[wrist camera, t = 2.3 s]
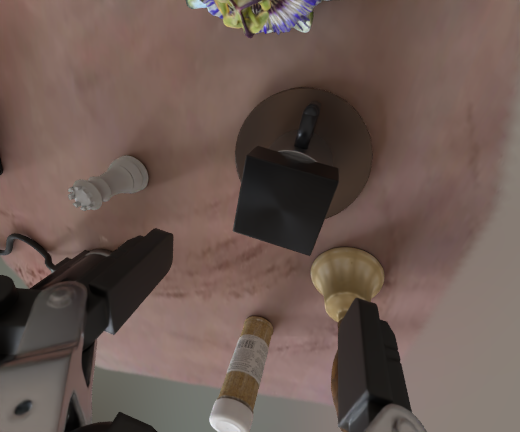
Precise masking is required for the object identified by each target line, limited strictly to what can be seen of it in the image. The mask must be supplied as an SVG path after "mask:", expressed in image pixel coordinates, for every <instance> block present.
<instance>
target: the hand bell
mask: <svg viewBox="0 0 520 432" xmlns="http://www.w3.org/2000/svg"><path fill="white" fill-rule="evenodd" d="M311 279H312V282H313V284H314V286H315V287H316V289H317V290H318V291H319V292H320V293H321V294H322V295H323V296H324V302H325V309H326V312H327V313H328V315H329V316H330V317H331V318H332V319H333V320H335V321H337V322H338V332H339V327H340V324H341V322H342V320H343V318H344V316H345V314H346V313H347V311H348V309H349V307H350V306H351V304H352V302H353V301H354V299H355V298H360V299H363V300H366V301H369V302H371V298H373V297H374V296H375V295H376V294H377V293H378V292H379V291H380V289H381V288H382V286H383V283H384V271H383V268H382V266H381V264H380V263H379V262H378V260H377V259H376V258H374V257H373V256H372V255H370V254H369V253H367V252H365V251H363V250H360V249H356V248H351V247H339V248H334V249H330V250H328V251H326V252H324V253H322V254H321V255H319V256H318V257H317V258H316V259H315V261H314V262H313V264H312V267H311ZM331 391H332V397H333V402H334V405H335V408H336V411H337V416H338V350H337V353H336V355H335V358H334V362H333V367H332V375H331ZM340 429H341V431H343V432H349V431H347V430H345V429H342V428H340Z"/></svg>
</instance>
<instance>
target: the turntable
mask: <svg viewBox="0 0 520 432" xmlns="http://www.w3.org/2000/svg"><path fill="white" fill-rule="evenodd" d="M312 101H318V102H319V103H320V104H321V110H320V113H319V116H318V120H317V123H316V126H315V130H314V133H315V134H317V135H319V136H320V137H321V138H322V139H323V140H324V141H325V142H326V143H327V144H328V146H329V148H330V150H331V153H332V158H333V167H336V168H339V183H338V186H337V189H336V191H335V194H334V196H333V199H332V201H331V204H330V207H329V209H328V212H327V214H326V217H325V219H326V218H329V217H331V216H334V215H336V214H338V213H339V212H341V211H342V210H344V209H345V208H347V207H348V206H349V205H350V204H351V203H352V202H353V201H354V200H355V199H356V198H357V197H358V195H359V194H360V193H361V191H362V190H363V188H364V186H365V184H366V182H367V180H368V177H369V174H370V171H371V166H372V156H373V154H372V143H371V139H370V135H369V132H368V130H367V127H366V125H365V123H364V122H363V120H362V118H361V116H360V115H359V114H358V113H357V111H356V110H355V109H354V108H353V107H352V106H351V105H350V104H349V103H348V102H347V101H345V100H344V99H342V98H341V97H339V96H337V95H335V94H333V93H331V92H329V91H325V90H322V89H317V88H309V87H301V88H293V89H289V90H285V91H282V92H279V93H277V94H275V95H272V96H270V97H269V98H267V99H266V100H264V101H263V102H261V103H260V104H259V105H258V106H257V107H256V108H255V109H254V110H253V111H252V112H251V113H250V114H249V116H248V117H247V119H246V120H245V122H244V124H243V125H242V127H241V130H240V132H239V135H238V138H237V143H236V151H235V160H236V168H237V172H238V176H239V179H240V181H241V182H242V176H243V171H244V165H245V159H246V155H247V154H248V153H249V152H251V151H252V150H253V149H254V148H255V147H256V146H260V147H264V148H268V149H269V147H270V146H271V145H272V144H273V143H274V142H275V141H276V140H277V139H278V138H279V137H280V136H282V135H283V134H285V133H287V132H290V131H294V130H298V129H299V125H300V121H301V117H302V114H303V111H304V109H305V108H306V107H307V106H308V105H309V104H310V102H312Z"/></svg>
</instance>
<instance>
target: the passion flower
mask: <svg viewBox="0 0 520 432" xmlns="http://www.w3.org/2000/svg"><path fill="white" fill-rule="evenodd" d="M322 1H323V0H186V3H187V6H188V7H189V8H191V9H196V8H207V9H208V12H209V13H211V14H212V15H213V16H218V17H219V18H221V19H223V22H224V24H225V25H226V26H227V27H231V28H241V27H242V28H243V30H244V34H245V35H246V36H247V37H248V38H252V37H253V35H254V34H255V33H256V34H258V33H261V32H265V34H266V33H271V32H277V34H278V35H279V34H280V32H281V31H282V32H283V33H284V32H289V31H290V30H291V28H292V27H293V28H295V29H296V30H298V31H300V32H304V33H307V32H309V31H310V28H311V25H312V21H313V8H314V7H315V6H316V5H318V4H319V3H321V2H322ZM325 1H331V0H325Z"/></svg>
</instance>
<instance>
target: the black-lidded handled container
mask: <svg viewBox="0 0 520 432" xmlns="http://www.w3.org/2000/svg"><path fill="white" fill-rule="evenodd" d="M320 110H321V104H320V103H319V102H318V101H312V102H310V104H309V105H308V106H307V107H306V108H305V109H304V111H303V114H302V117H301V121H300V125H299V129H298V130H294V131H290V132H287V133H285V134H283V135H282V136H280V137H279V138H278V139H277V140H276V141H275V142H274V143H273V144H272V145H271V146H270V147H269V149H268V148H264V147H260V146H256V147H255V148H254V149H253V150H252V151H251V152H249V153H248V154H247V155H246V159H245V165H244V171H243V176H242V182H241V188H240V193H239V199H238V205H237V210H236V216H235V222H234V227H233V231H234V232H237V233H240V234H243V235H246V236H249V237H252V238H255V239H259V240H262V241H265V242H268V243H271V244H274V245H277V246H280V247H283V248H287V249H290V250H293V251H296V252H299V253H302V254H305V255H308V256H310V255H311V253H312V250H313V248H314V245H315V243H316V240H317V238H318V235H319V232H320V230H321V227H322V225H323V222H324V220H325V217H326V214H327V212H328V209H329V207H330V204H331V201H332V199H333V196H334V194H335V191H336V189H337V186H338V183H339V168H336V167H333V158H332V153H331V150H330V148H329V146H328V144H327V143H326V142H325V141H324V140H323V139H322V138H321V137H320V136H319V135H317V134H315V133H314V130H315V126H316V123H317V120H318V116H319V113H320Z"/></svg>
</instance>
